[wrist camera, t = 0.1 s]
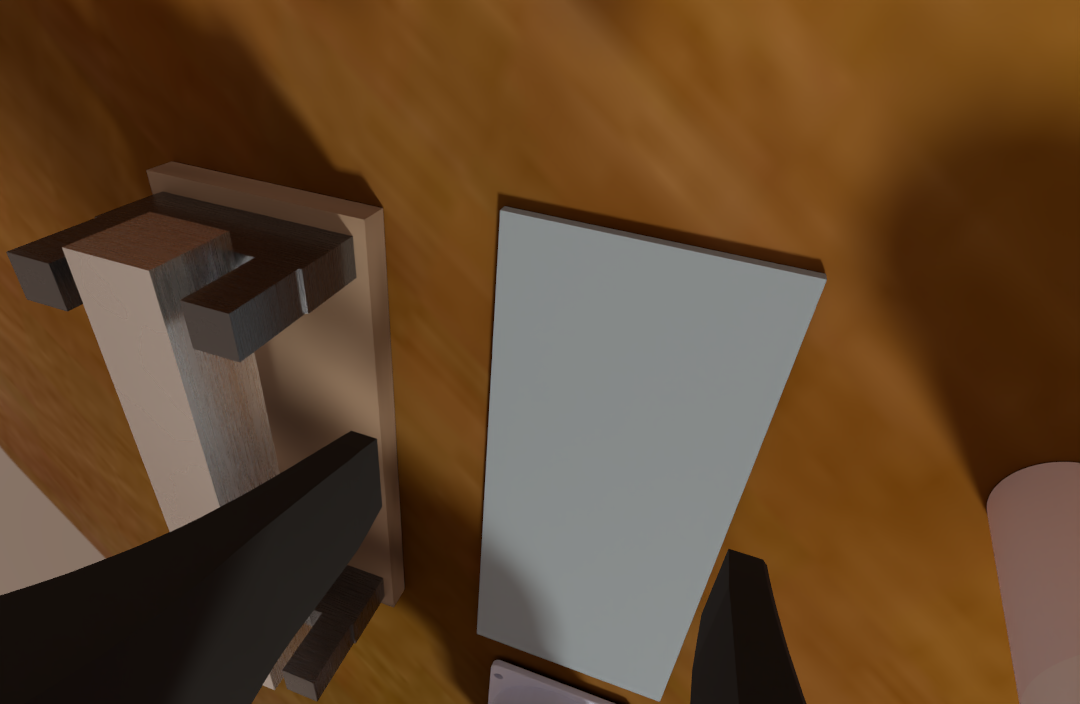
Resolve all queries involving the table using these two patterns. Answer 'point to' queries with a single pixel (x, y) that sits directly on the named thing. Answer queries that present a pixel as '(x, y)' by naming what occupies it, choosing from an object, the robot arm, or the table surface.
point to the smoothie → (1040, 577)
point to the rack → (285, 350)
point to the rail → (176, 369)
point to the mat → (622, 435)
